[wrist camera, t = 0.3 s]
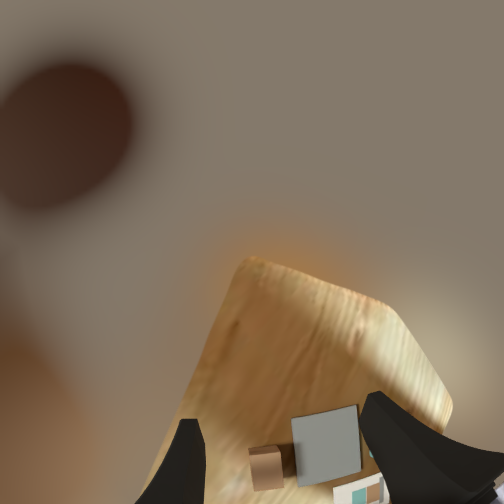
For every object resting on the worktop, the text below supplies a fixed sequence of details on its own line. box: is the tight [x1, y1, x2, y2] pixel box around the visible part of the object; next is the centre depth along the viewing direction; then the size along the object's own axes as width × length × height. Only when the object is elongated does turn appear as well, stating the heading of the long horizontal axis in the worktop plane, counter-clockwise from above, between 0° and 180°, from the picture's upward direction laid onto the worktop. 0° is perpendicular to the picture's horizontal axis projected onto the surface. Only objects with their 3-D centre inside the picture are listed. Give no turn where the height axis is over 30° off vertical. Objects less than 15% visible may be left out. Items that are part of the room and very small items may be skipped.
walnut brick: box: [248, 445, 284, 491], centre depth 29 cm, size 6×4×4 cm, turn 6°
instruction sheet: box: [333, 472, 389, 504], centre depth 27 cm, size 8×10×1 cm
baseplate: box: [291, 405, 361, 487], centre depth 31 cm, size 12×10×1 cm
